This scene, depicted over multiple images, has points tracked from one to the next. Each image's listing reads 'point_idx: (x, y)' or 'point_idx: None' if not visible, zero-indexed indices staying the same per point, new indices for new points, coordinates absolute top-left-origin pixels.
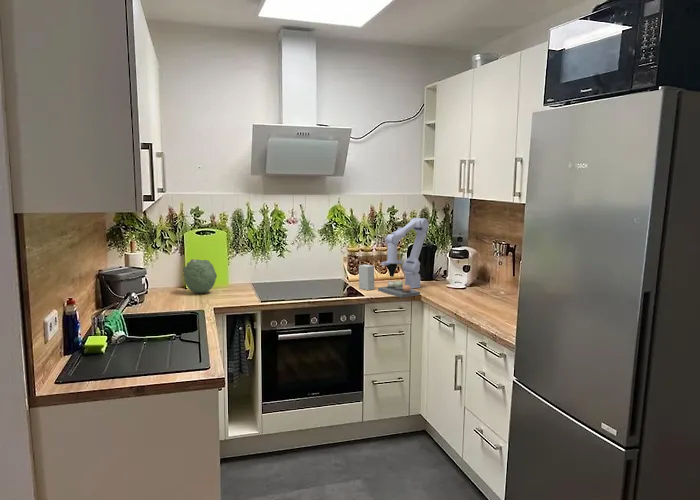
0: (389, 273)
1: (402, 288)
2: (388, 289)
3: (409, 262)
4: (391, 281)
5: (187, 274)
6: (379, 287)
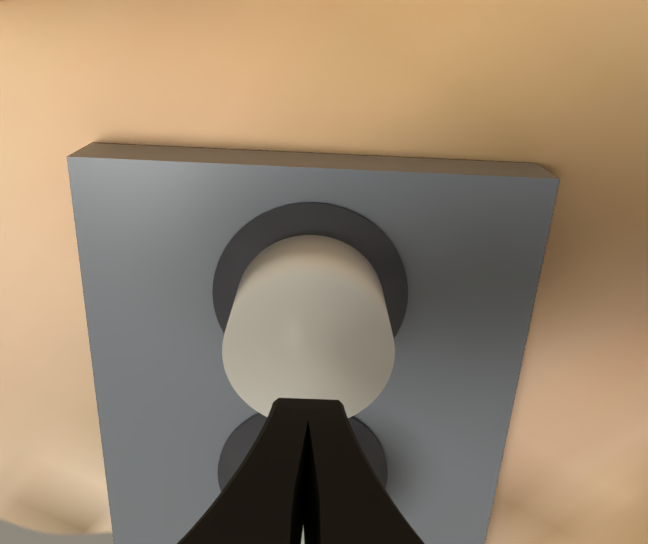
0: (255, 450)
1: (421, 444)
2: (152, 387)
3: None
4: (327, 334)
5: None
6: (97, 164)
